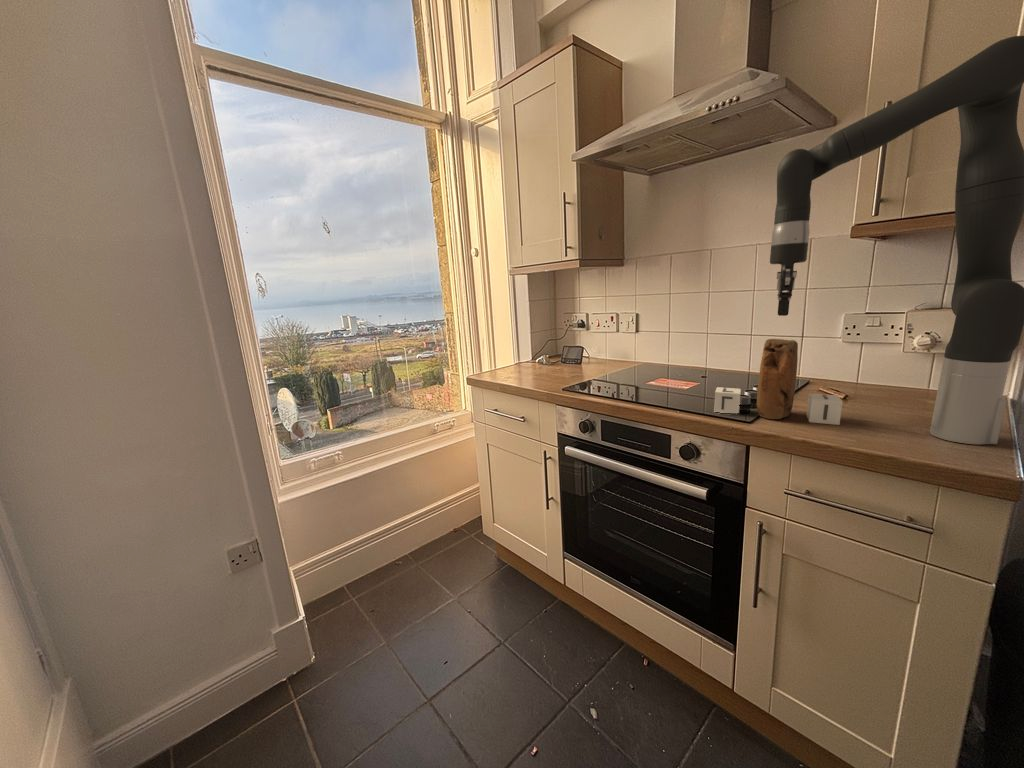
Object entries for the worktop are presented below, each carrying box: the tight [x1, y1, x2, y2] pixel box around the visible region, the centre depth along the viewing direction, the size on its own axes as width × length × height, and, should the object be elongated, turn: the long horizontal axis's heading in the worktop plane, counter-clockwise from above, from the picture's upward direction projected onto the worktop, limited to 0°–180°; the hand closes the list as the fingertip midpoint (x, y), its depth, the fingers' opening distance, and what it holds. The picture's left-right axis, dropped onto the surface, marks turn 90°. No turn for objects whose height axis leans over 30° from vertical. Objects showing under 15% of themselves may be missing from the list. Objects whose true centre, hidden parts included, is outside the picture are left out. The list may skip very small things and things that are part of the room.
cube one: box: [806, 393, 844, 426], centre depth 103 cm, size 6×6×6 cm
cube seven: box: [713, 386, 742, 414], centre depth 114 cm, size 6×6×6 cm
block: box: [756, 338, 799, 420], centre depth 107 cm, size 11×8×20 cm
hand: (782, 315), depth 103 cm, fingers closed
